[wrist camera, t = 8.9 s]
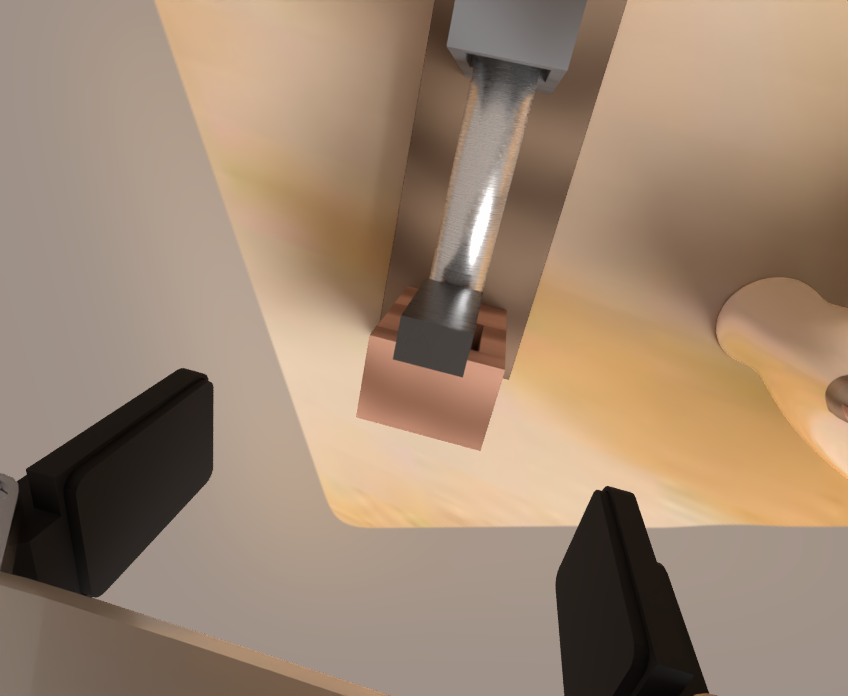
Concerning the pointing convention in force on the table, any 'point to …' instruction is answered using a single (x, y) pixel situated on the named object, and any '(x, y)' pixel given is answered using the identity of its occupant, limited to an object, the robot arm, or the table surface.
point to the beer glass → (795, 357)
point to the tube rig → (524, 210)
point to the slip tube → (469, 218)
